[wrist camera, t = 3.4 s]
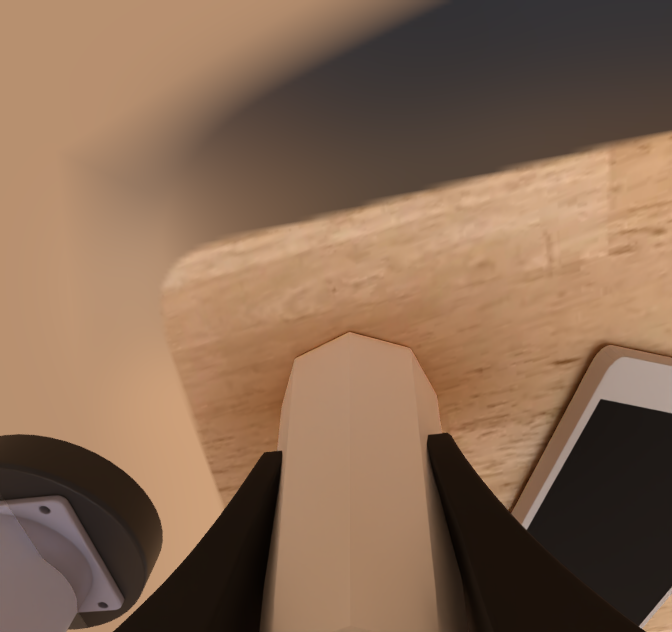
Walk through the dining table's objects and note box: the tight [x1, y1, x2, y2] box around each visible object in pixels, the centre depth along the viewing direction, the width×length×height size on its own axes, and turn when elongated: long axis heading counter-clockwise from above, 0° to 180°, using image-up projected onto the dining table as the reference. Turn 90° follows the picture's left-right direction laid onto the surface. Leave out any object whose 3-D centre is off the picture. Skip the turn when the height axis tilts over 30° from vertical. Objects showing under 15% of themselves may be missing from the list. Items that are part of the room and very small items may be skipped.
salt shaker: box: [259, 332, 469, 632], centre depth 10 cm, size 5×5×11 cm
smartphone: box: [511, 345, 672, 628], centre depth 16 cm, size 7×16×1 cm, turn 168°
